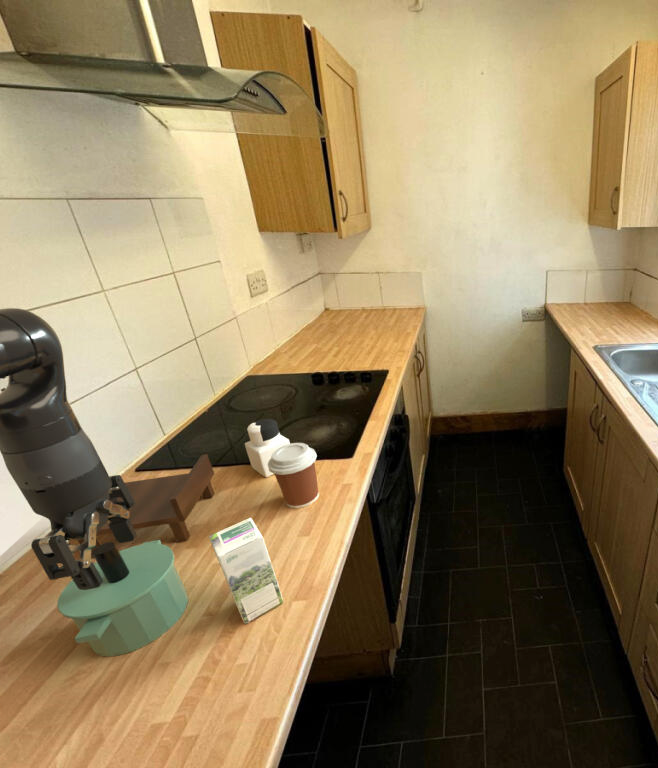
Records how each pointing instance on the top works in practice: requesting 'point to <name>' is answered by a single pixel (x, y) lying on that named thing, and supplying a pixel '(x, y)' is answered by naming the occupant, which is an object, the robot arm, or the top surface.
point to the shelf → (167, 500)
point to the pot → (136, 619)
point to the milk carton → (247, 569)
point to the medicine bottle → (263, 444)
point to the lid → (117, 579)
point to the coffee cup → (295, 473)
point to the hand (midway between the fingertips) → (111, 562)
